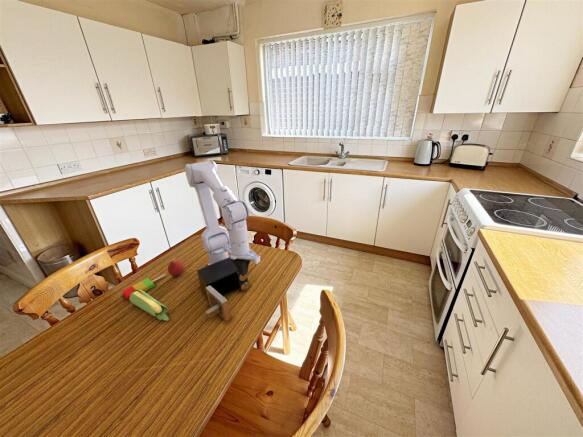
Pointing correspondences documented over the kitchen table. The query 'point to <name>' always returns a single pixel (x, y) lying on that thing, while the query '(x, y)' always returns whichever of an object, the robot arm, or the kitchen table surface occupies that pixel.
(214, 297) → the door
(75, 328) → the kitchen table surface
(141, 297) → the edible corn
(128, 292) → the popsicle
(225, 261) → the microwave
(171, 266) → the onion
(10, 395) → the kitchen table surface
